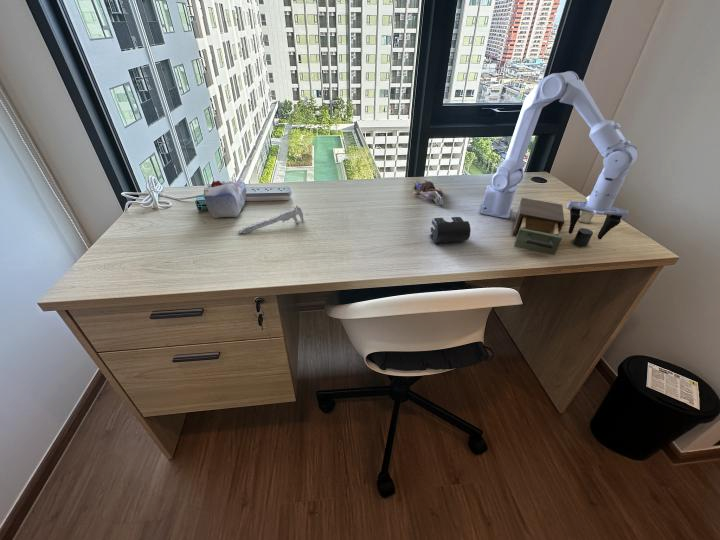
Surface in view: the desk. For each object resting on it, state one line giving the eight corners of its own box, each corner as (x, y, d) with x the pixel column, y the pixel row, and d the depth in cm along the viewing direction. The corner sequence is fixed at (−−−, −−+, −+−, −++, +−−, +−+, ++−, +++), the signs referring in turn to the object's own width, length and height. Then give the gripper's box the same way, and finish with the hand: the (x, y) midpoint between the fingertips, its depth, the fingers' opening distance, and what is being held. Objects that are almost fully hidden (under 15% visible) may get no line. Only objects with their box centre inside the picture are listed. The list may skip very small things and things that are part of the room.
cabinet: (554, 244, 100) (564, 221, 95) (512, 235, 104) (519, 213, 99) (553, 225, 109) (562, 204, 105) (515, 218, 113) (521, 197, 109)
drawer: (555, 264, 90) (563, 246, 86) (512, 254, 93) (518, 237, 90) (553, 236, 102) (560, 219, 98) (516, 229, 105) (521, 212, 102)
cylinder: (573, 245, 99) (579, 232, 97) (572, 239, 102) (578, 226, 100) (587, 248, 98) (594, 235, 96) (586, 242, 101) (592, 229, 98)
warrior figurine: (405, 189, 132) (425, 209, 118) (407, 177, 129) (427, 196, 115) (432, 186, 135) (454, 206, 121) (434, 174, 132) (457, 193, 118)
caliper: (302, 221, 110) (301, 203, 106) (303, 222, 109) (302, 205, 105) (239, 232, 103) (234, 214, 99) (239, 234, 102) (235, 216, 98)
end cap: (435, 248, 97) (439, 227, 93) (428, 235, 103) (431, 216, 99) (467, 246, 98) (472, 226, 94) (459, 234, 104) (463, 214, 100)
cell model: (198, 191, 101) (204, 170, 116) (207, 223, 107) (211, 199, 123) (242, 187, 104) (242, 167, 120) (249, 218, 110) (248, 195, 126)
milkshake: (596, 225, 110) (610, 197, 104) (579, 223, 111) (591, 195, 105) (591, 218, 114) (604, 191, 108) (574, 217, 114) (587, 190, 108)
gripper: (576, 192, 90) (557, 235, 98) (639, 202, 85) (614, 247, 93) (574, 183, 95) (557, 225, 103) (633, 192, 90) (610, 235, 98)
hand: (584, 235), depth 98 cm, fingers open, 7 cm apart
